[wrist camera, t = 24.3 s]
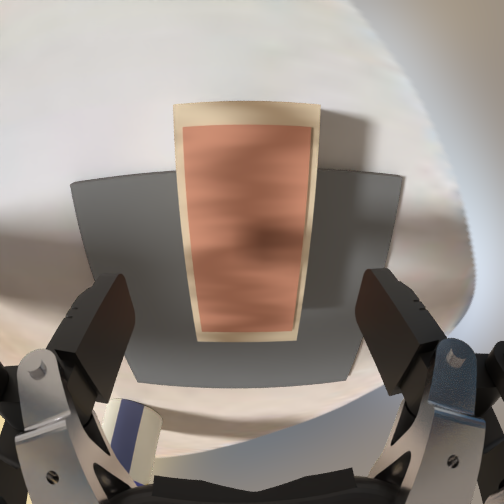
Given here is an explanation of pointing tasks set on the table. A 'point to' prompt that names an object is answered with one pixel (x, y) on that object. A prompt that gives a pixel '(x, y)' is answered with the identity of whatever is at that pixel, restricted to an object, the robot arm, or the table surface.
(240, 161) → the tan two-tone tall block
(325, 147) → the table surface
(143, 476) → the water bottle
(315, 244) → the rubber mat
